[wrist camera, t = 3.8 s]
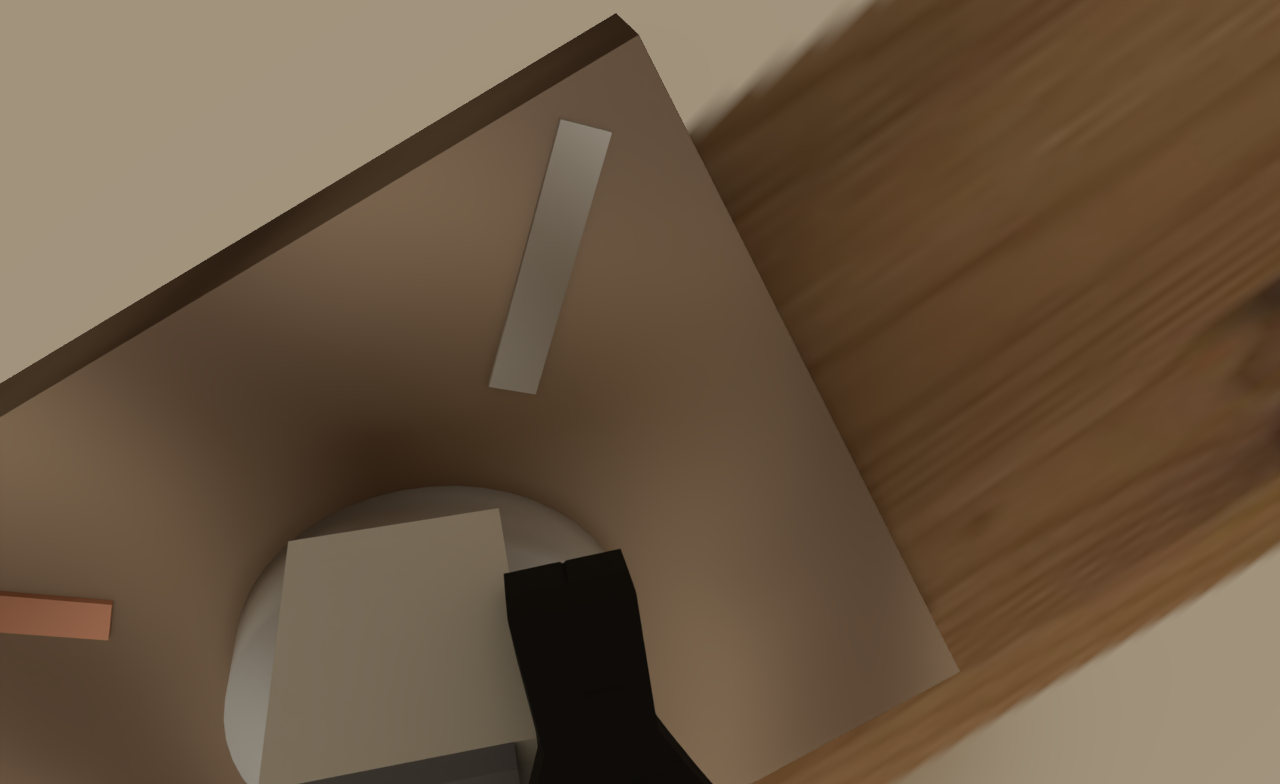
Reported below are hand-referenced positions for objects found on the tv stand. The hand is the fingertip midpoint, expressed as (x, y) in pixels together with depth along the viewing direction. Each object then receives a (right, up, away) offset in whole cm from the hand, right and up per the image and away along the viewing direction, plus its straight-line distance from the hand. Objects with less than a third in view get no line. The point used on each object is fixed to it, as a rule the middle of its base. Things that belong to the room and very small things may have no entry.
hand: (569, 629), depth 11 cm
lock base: (-3, -1, +7) cm, 8 cm away
